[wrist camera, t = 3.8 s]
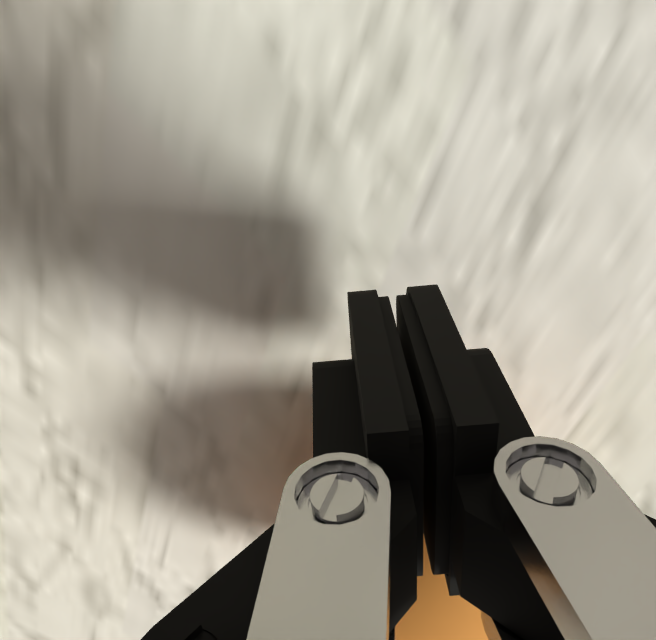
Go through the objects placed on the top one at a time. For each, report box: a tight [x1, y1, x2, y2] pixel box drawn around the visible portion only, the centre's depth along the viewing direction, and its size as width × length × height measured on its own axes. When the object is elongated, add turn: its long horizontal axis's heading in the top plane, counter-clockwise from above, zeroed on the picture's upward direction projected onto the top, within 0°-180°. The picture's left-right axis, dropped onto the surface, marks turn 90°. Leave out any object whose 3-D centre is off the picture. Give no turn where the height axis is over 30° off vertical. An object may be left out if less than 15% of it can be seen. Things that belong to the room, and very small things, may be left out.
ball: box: [396, 533, 489, 640], centre depth 13 cm, size 6×6×6 cm
